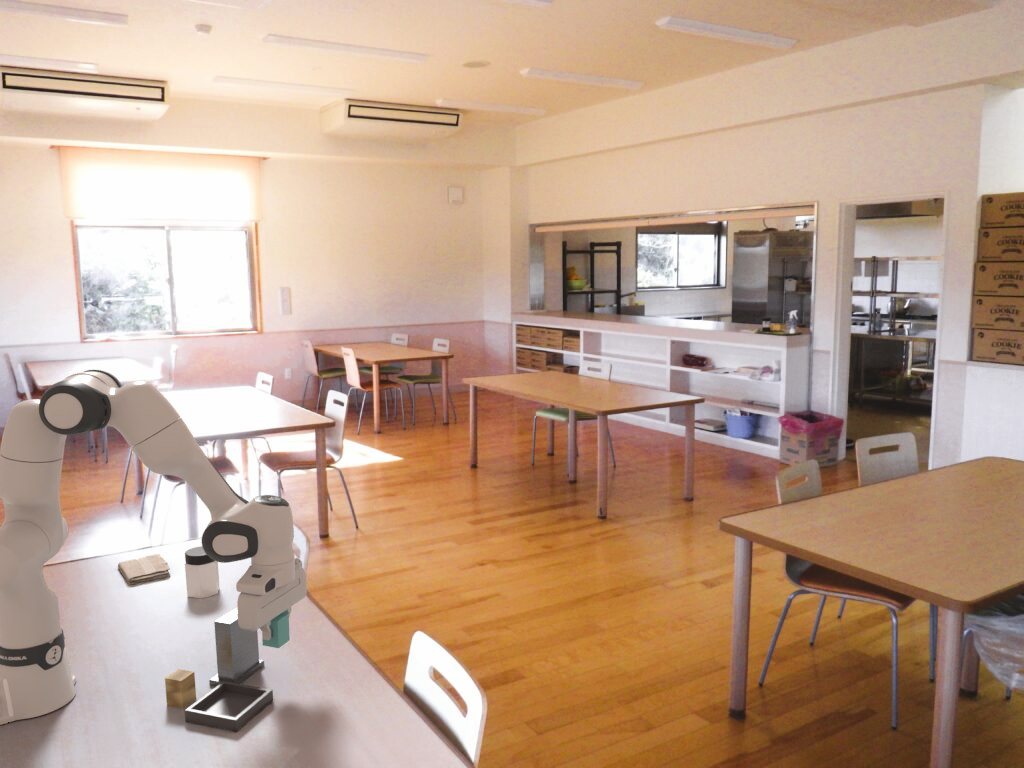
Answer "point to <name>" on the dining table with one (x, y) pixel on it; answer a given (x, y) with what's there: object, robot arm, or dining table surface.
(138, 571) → the washcloth
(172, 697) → the ochre block
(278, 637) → the teal block
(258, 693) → the black tray
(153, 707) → the dining table surface
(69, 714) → the dining table surface
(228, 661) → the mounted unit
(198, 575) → the jar
